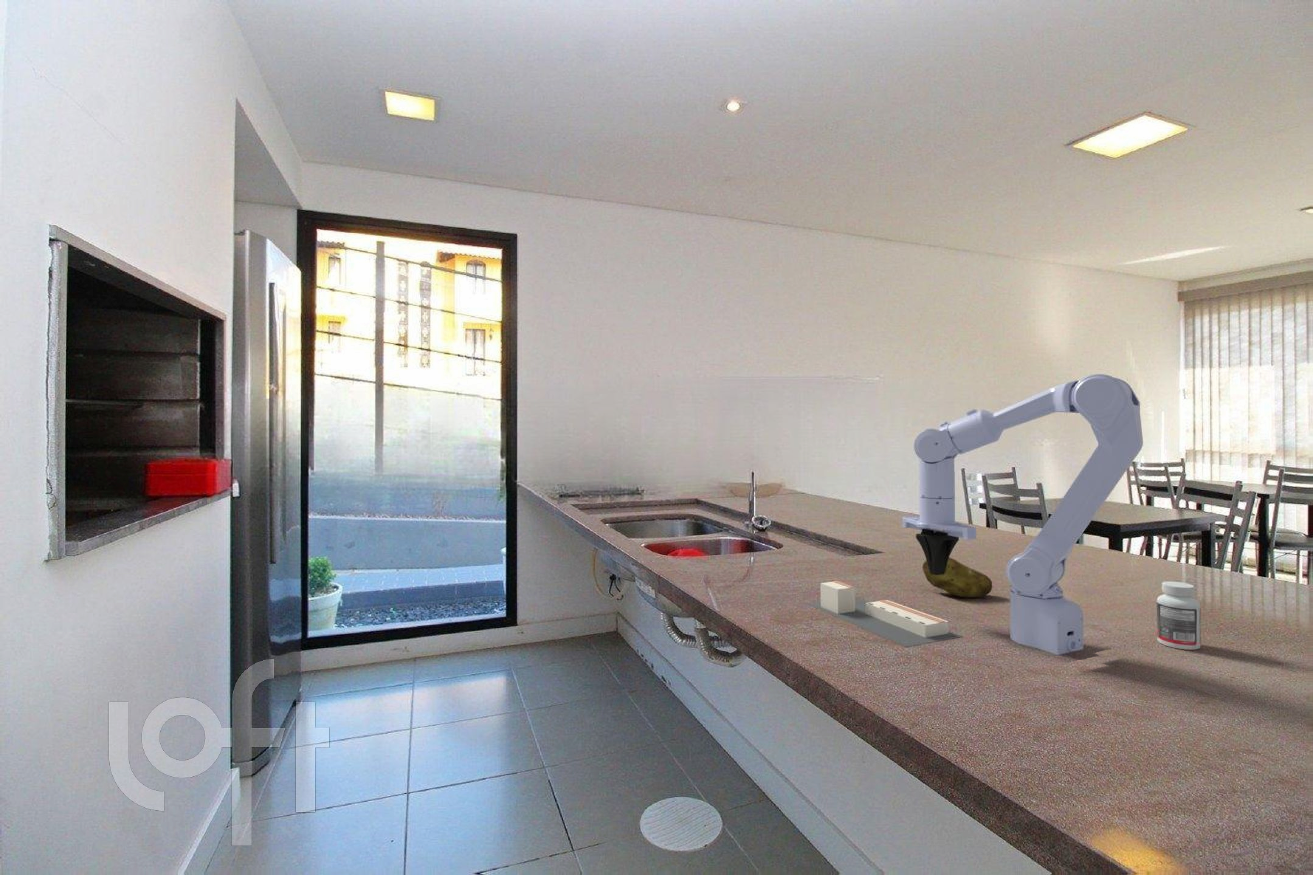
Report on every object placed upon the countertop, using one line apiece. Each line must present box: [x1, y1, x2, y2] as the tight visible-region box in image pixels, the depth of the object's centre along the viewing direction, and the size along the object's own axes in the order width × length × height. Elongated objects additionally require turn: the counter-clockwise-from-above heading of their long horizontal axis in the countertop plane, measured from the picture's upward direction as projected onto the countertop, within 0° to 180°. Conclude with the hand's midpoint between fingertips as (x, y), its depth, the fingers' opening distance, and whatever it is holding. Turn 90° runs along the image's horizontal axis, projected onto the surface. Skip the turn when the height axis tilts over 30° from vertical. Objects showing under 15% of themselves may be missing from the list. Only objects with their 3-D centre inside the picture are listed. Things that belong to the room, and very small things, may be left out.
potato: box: [922, 556, 993, 598], centre depth 129 cm, size 8×13×8 cm, turn 54°
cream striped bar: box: [866, 599, 949, 638], centre depth 106 cm, size 14×5×2 cm, turn 22°
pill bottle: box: [1156, 581, 1202, 651], centre depth 98 cm, size 5×5×10 cm
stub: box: [820, 580, 856, 614], centre depth 115 cm, size 5×4×5 cm
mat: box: [805, 596, 964, 648], centre depth 109 cm, size 26×12×1 cm, turn 22°
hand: (937, 573), depth 108 cm, fingers closed
